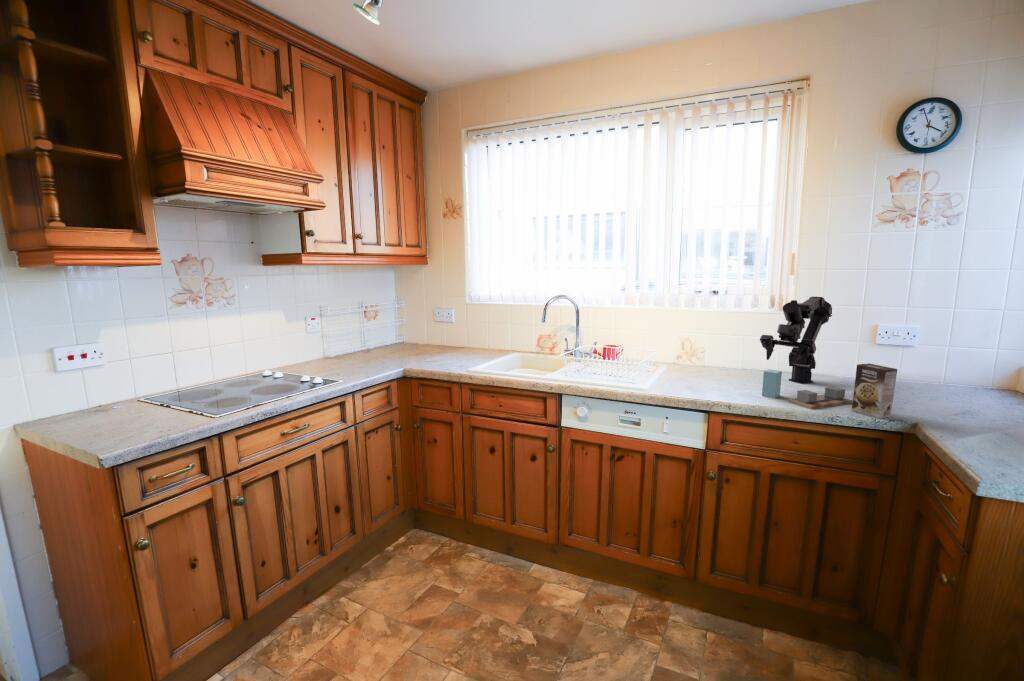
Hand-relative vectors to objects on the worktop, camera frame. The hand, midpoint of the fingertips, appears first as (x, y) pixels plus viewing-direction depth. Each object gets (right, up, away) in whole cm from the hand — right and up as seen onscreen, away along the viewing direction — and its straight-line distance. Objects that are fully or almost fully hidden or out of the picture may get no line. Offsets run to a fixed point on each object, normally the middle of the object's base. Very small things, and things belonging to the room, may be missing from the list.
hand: (779, 361), depth 183 cm
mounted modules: (+8, -13, -12) cm, 19 cm away
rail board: (+8, -14, -11) cm, 20 cm away
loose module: (-5, -13, -2) cm, 14 cm away
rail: (+8, -14, -11) cm, 20 cm away
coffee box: (+17, -17, -24) cm, 34 cm away
